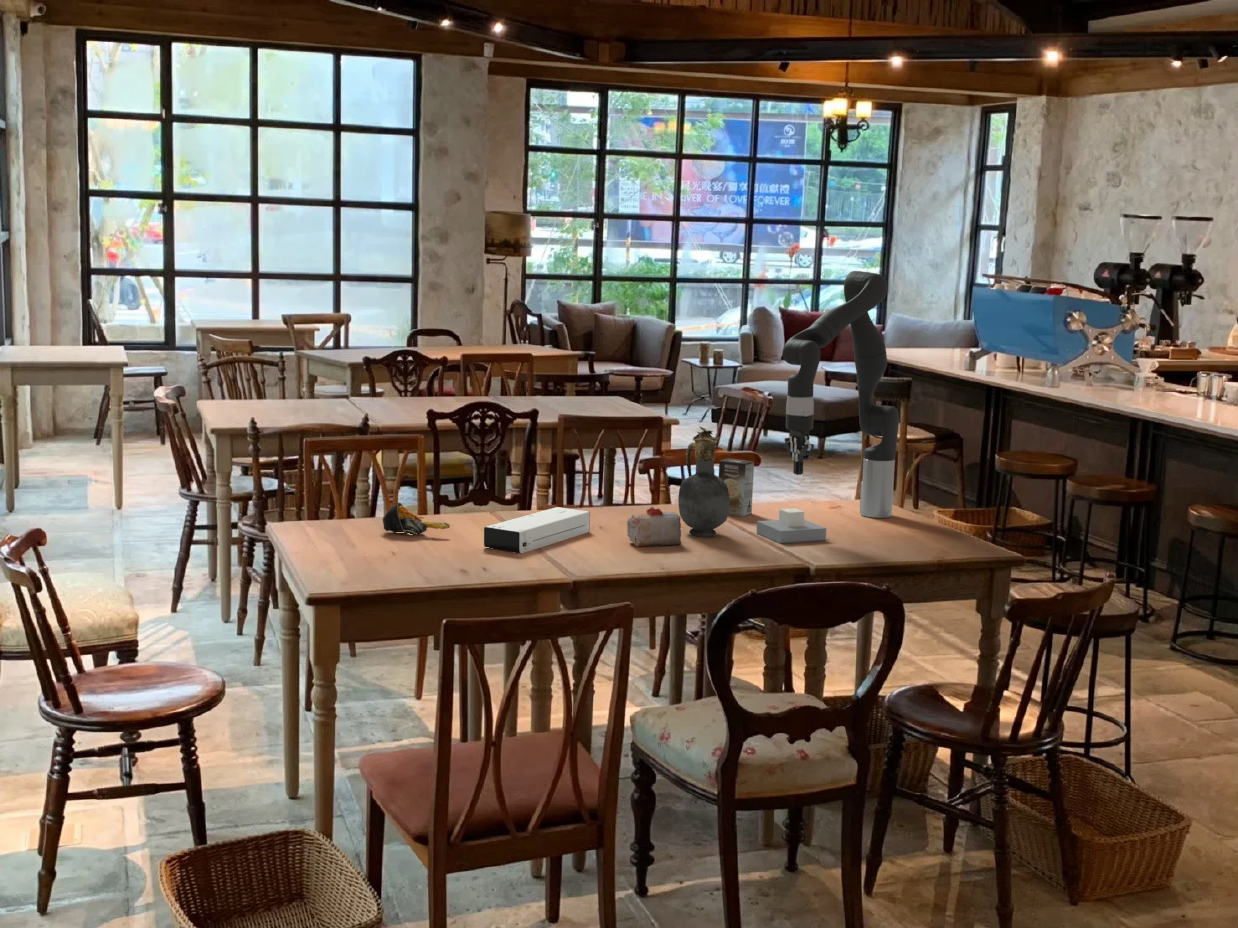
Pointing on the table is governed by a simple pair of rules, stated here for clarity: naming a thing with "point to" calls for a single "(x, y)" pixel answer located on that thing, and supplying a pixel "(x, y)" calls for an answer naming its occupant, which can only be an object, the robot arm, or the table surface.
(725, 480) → the coffee box
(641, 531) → the food item
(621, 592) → the table surface
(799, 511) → the plug
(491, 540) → the laminator
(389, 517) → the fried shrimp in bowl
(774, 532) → the socket plate
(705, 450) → the pitcher
